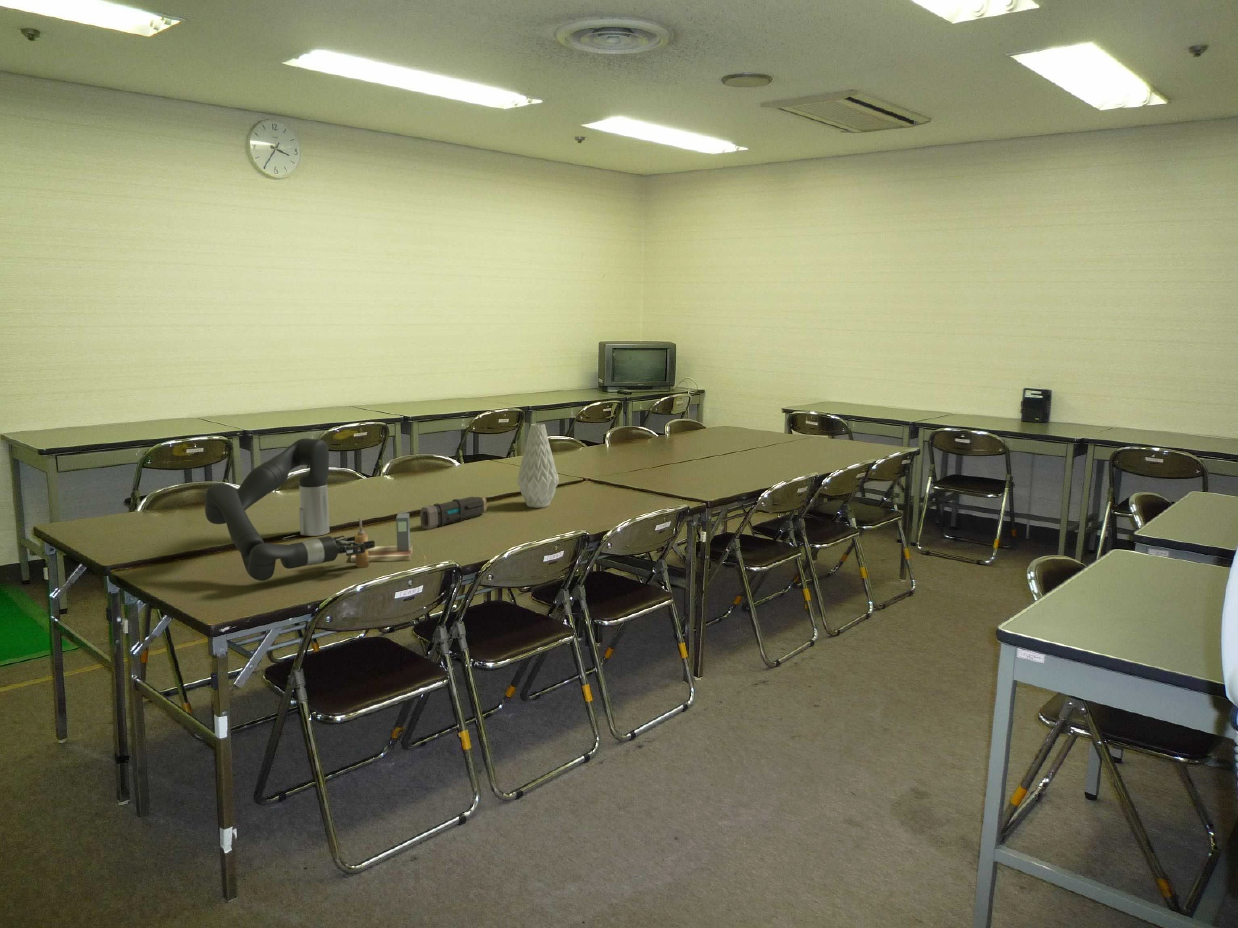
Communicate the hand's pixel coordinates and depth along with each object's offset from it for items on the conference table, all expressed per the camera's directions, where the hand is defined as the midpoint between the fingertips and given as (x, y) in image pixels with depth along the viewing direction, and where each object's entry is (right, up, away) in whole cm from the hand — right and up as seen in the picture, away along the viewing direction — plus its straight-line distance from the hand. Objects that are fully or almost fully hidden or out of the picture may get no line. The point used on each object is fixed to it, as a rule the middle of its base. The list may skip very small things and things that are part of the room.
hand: (367, 541), depth 275 cm
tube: (+17, +2, +56) cm, 59 cm away
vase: (+45, +7, +83) cm, 95 cm away
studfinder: (+8, -4, +14) cm, 16 cm away
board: (+2, -6, +11) cm, 12 cm away
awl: (-2, -8, 0) cm, 8 cm away
